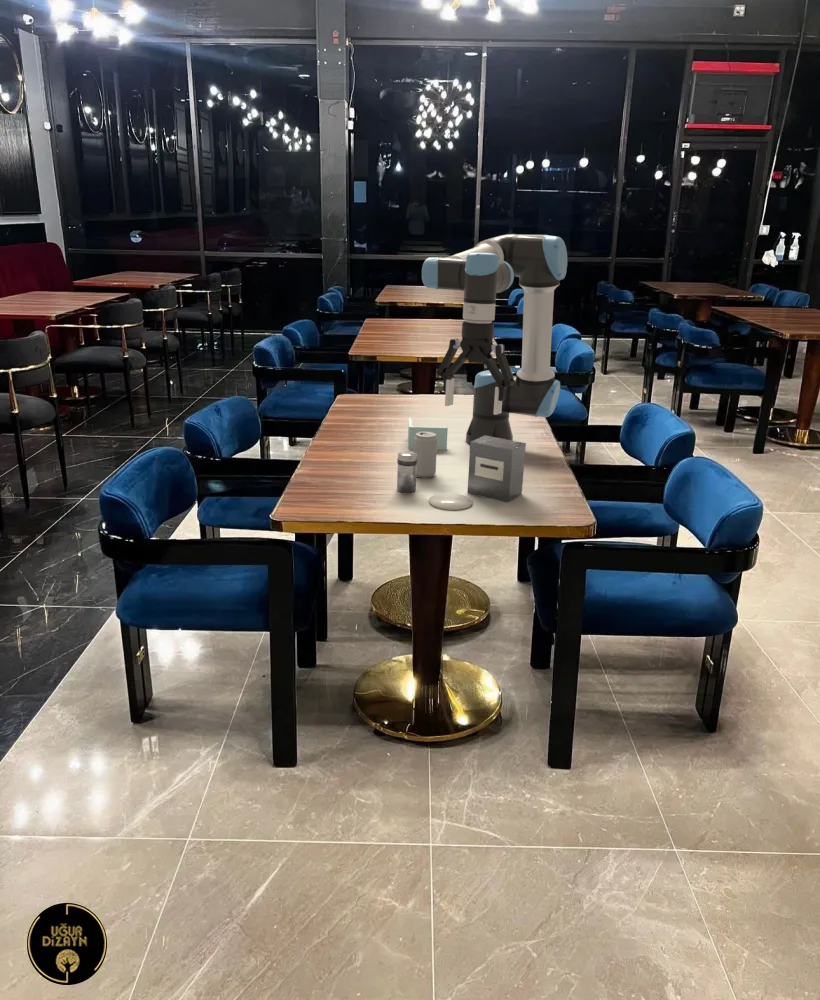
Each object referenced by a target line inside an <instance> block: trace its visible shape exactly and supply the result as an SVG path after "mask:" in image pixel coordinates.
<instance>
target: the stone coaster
mask: <svg viewBox="0 0 820 1000" xmlns="http://www.w3.org/2000/svg"><path fill="white" fill-rule="evenodd" d="M428 503H429V505H430V506H431V507H434V508H436V509H438V510H439V509H440V510H445V511H461V510H466V509H469V508H470V507H472V506H473V500H472V498H471V497H468V495H465V494H462V493H461V494H460V493H454V492H442V493H437V494H433V495H431V496H430V497H429V498H428Z"/></svg>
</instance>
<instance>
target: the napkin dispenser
mask: <svg viewBox="0 0 820 1000" xmlns="http://www.w3.org/2000/svg"><path fill="white" fill-rule="evenodd" d="M526 446H527V442H522V441H517V440H513V441H512V440H506V439H501V438H496V437H490V436H485V435H484V436H482V437H480V438H478V439H476V440H474V441H471V442H470V445H469V461H468V475H467V491H466V492H467V494H470V495H474V496H479V497H483V498H487V499H492V500H495V501H500V502H505V503H510V502H512V501H513V500H516V498H518V497H519V496H521V495H522V493H523V482H524V472H525V470H524V469H525V457H526V448H527V447H526Z"/></svg>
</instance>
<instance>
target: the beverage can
mask: <svg viewBox="0 0 820 1000" xmlns="http://www.w3.org/2000/svg"><path fill="white" fill-rule="evenodd" d="M437 450H438V449H437V437H436V434H435V433H433V432H426V431H423V432H417V433H416V436H415V437H414V449H413V452H414V453H416V454H417V472H416V477H418V478H422V477H423V478H424V479H427V478H433V477H434V475H436V472H437V452H438V451H437Z"/></svg>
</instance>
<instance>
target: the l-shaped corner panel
mask: <svg viewBox="0 0 820 1000" xmlns="http://www.w3.org/2000/svg"><path fill="white" fill-rule="evenodd" d="M407 425H408V430H407V433H408V434H407V446H408V447H407V449H413V448H414V437H415V436H416V433H417V432H423V431H426V432H433V433H435V434H436V437H437V450H447V447H448V433H449V432H448V426H447V427H446V426H445V427H444V426H414V425H413V417H408V424H407Z"/></svg>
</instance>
